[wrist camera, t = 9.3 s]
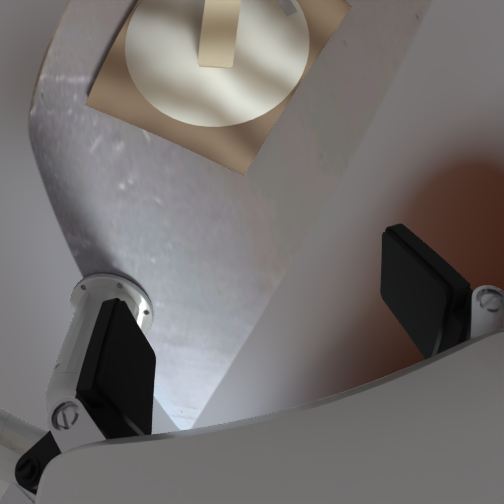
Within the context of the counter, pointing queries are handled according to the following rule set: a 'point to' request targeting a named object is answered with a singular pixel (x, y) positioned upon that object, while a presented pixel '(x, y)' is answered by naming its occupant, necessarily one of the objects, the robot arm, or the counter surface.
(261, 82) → the square board with disc
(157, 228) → the counter surface
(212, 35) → the beige block with rod
